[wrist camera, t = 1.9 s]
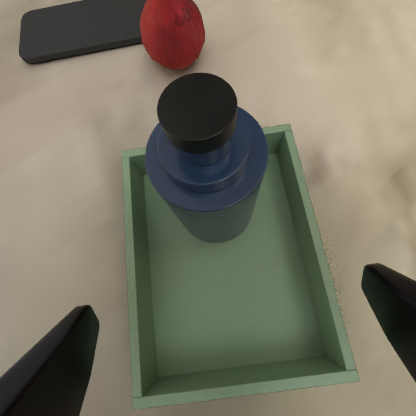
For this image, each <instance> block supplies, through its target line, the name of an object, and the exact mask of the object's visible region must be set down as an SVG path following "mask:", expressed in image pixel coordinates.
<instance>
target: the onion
mask: <svg viewBox="0 0 416 416" xmlns="http://www.w3.org/2000/svg"><path fill="white" fill-rule="evenodd" d="M140 30H141V37H142V43H143V45H144V47H145V49H146V51H147V52H148V54H149V55H150V56H151V58H152V59H153V60H155V61H156V62H157V63H159V64H160V65H162V66H164V67H165V68H170V69H175V70H177V69H184V68H186V67H188V66H189V65H191V64H192V63H193V62H194V61H195V60H196V59H197V58H198V56H199V54H200V52H201V49H202V47H203V44H204V42H205V30H204V25H203V20H202V16H201V13H200V11H199V9H198V7H197V5H196V4H195V3H194V2H193V1H192V0H147V1H146V2H145V5H144V8H143V11H142V14H141V18H140Z"/></svg>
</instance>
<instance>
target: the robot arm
mask: <svg viewBox="0 0 416 416" xmlns="http://www.w3.org/2000/svg"><path fill="white" fill-rule="evenodd" d="M361 286H362V290H363V292H364V294H365V296H366V298H367V300H368V302H369V304H370V306H371V308H372V310H373V312H374V314H375V316H376V318H377V320H378V322H379V324H380V325H381V327H382V329H383V331H384V333H385V335H386V337H387V338H388V340H389V342H390V343H391V345H392V346H393V348H394V350H395V351H396V353H397V354H398V356H399V357H400V359H401V360H402V362H403V364H404V365H405V367H406V368H407V370H408V371H409V373H410V374H411V376H412V377H413V379H414V381H415V382H416V281H414V280H412V279H410V278H408V277H406V276H404V275H402V274H400V273H398V272H396V271H394V270H392V269H390V268H388V267H386V266H384V265H382V264H379V263H375V264H368V265H366V266H365V267H364V270H363V276H362V282H361ZM98 332H99V321H98V319H97V317H96V315H95V313H94V311H93V309H92V307H91V306H90V305H83V306H78V307H76V308H74V309H73V310H72V311H71V312H70V313H69V314H68V315H67V316H66V317H65V318H64V319H62V320H61V321H60V322H59V323H58V324H57V325H56V326H55V327H54V328H53V329H52V330H51V331H50V332H49V333H47V334H46V335H45V336H44V337H43V338H42V339H41V340H40V341H39V342H38V343H37V344H36V345H35V346H34V347H33V348H31V349H30V350H29V351H28V352H27V353H26V354H25V355H24V356H23V357H22V358H21V359H20V360H19V361H18V362H16V363H15V364H14V365H13V366H12V367H11V368H10V369H9V370H8V371H7V372H6V373H5V374H4V375H3V376H1V377H0V416H79V414H80V411H81V407H82V404H83V400H84V397H85V393H86V390H87V386H88V383H89V379H90V375H91V370H92V365H93V360H94V354H95V349H96V343H97V338H98Z"/></svg>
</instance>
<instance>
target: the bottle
mask: <svg viewBox="0 0 416 416" xmlns="http://www.w3.org/2000/svg"><path fill="white" fill-rule="evenodd" d="M157 115H158V119H159V123H158V124H157V126H156V127H155V128H154V130H153V132H152V133H151V135H150V138H149V140H148V143H147V147H146V152H145V165H146V171H147V174H148V177H149V179H150V182H151V184H152V185H153V187H154V188H155V190H156V191H157V192H158V193H159V195H160V196H161V197H162V199H163V200H164V201H165V202H166V204H167V205H168V206H169V207H170V209H171V210H172V211H173V213H174V214H175V215H176V216H177V218H178V219H179V220H180V221H181V223H182V224H183V225H184V227H185V228H186V229H187V230H188V231H189V233H191V234H192V235H193V236H194V237H196V238H197V239H199V240H202V241H205V242H209V243H223V242H227V241H230V240H232V239H234V238H236V237H237V236H239V235H240V234H241V233H242V232H243V231H244V230H245V229H246V227H247V226H248V224H249V222H250V220H251V217H252V214H253V210H254V207H255V204H256V201H257V197H258V194H259V191H260V187H261V184H262V181H263V177H264V174H265V171H266V167H267V164H268V144H267V140H266V137H265V134H264V132H263V130H262V128H261V127H260V125H259V124H258V122H257V121H256V120H255V119H254V118H253V117H252V116H251V115H250V114H249V113H248V112H246V111H245V110H243V109H242V108H240V107H238V106H237V98H236V95H235V92H234V90H233V89H232V87H231V86H230V85H229V84H228V83H227V82H226V81H225V80H223V79H222V78H220V77H218V76H216V75H213V74H208V73H191V74H187V75H184V76H182V77H179V78H177V79H176V80H174V81H173V82H171V83H170V84H169V85H168V86H167V87H166V88H165V89H164V91H163V92H162V94H161V96H160V98H159V101H158V105H157Z"/></svg>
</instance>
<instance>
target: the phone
mask: <svg viewBox="0 0 416 416" xmlns="http://www.w3.org/2000/svg"><path fill="white" fill-rule="evenodd" d="M146 1H147V0H82V1H77V2H72V3H67V4H62V5H57V6H52V7H47V8H42V9H37V10H32V11H29V12H27V13H25V14H24V15H23V17H22V19H21V30H20V44H19V55H20V57H21V58H22V59H23V60H24V61H25V62H26V63H37V62H42V61H47V60H53V59H58V58H63V57H68V56H73V55H79V54H84V53H89V52H94V51H100V50H105V49H110V48H115V47H120V46H126V45H131V44H136V43H141V42H142V37H141V30H140V18H141V14H142V11H143V8H144V5H145V2H146Z"/></svg>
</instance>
